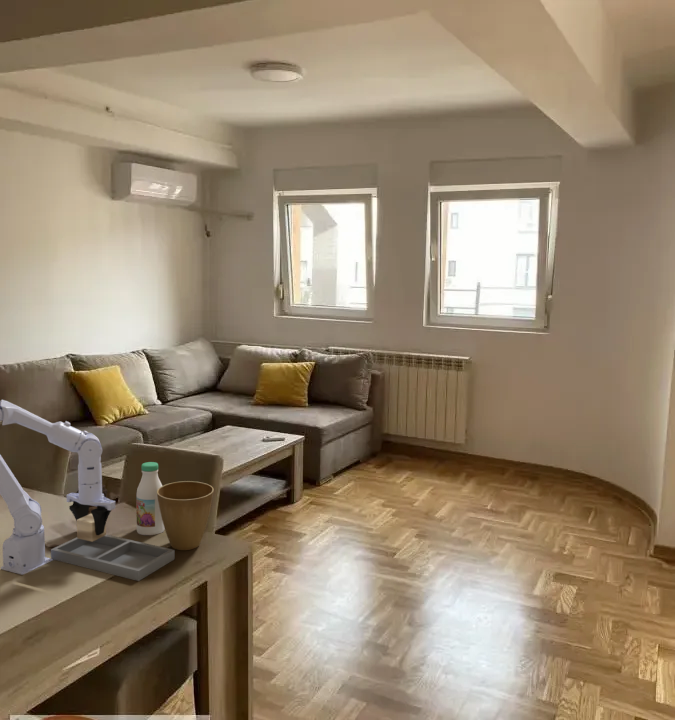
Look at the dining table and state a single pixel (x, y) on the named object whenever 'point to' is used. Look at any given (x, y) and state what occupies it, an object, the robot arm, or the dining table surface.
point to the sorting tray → (114, 556)
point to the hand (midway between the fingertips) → (91, 531)
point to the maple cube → (88, 529)
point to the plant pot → (185, 512)
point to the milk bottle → (148, 501)
